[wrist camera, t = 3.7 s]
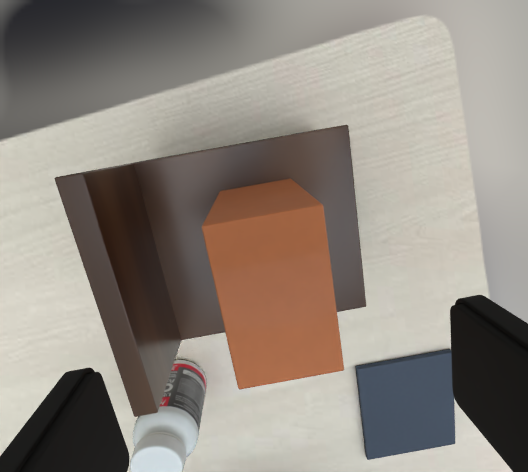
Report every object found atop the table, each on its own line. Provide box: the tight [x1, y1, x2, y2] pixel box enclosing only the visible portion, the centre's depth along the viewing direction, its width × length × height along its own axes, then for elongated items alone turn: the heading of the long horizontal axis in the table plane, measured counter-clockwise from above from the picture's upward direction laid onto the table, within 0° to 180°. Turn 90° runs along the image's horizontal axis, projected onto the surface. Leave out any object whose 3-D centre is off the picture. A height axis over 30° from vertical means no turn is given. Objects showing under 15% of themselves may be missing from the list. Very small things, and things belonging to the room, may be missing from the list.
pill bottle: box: [130, 360, 207, 472], centre depth 30 cm, size 5×5×10 cm
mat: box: [356, 349, 455, 460], centre depth 37 cm, size 10×12×1 cm
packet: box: [202, 179, 344, 389], centre depth 17 cm, size 7×4×9 cm, turn 10°
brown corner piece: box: [55, 125, 366, 417], centre depth 23 cm, size 14×12×16 cm
